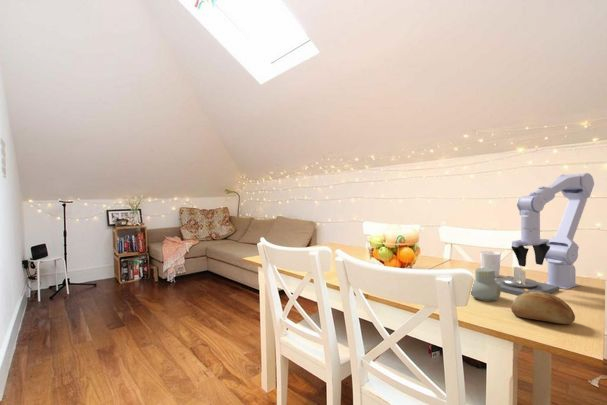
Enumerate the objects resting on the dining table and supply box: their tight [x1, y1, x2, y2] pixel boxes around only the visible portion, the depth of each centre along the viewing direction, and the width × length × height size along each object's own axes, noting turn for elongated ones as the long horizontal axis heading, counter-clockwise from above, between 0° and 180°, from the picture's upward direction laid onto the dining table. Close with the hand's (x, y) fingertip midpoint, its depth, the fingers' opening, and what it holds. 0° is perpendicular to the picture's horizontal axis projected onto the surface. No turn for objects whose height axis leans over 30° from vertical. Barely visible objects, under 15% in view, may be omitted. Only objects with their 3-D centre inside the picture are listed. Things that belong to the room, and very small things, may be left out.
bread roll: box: [510, 292, 576, 325], centre depth 95 cm, size 10×15×8 cm, turn 53°
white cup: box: [479, 250, 502, 278], centre depth 144 cm, size 8×8×10 cm
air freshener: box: [470, 267, 502, 302], centre depth 115 cm, size 11×8×10 cm
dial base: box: [495, 275, 560, 297], centre depth 125 cm, size 18×18×2 cm
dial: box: [502, 266, 538, 288], centre depth 125 cm, size 11×11×6 cm
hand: (530, 265), depth 122 cm, fingers open, 7 cm apart
